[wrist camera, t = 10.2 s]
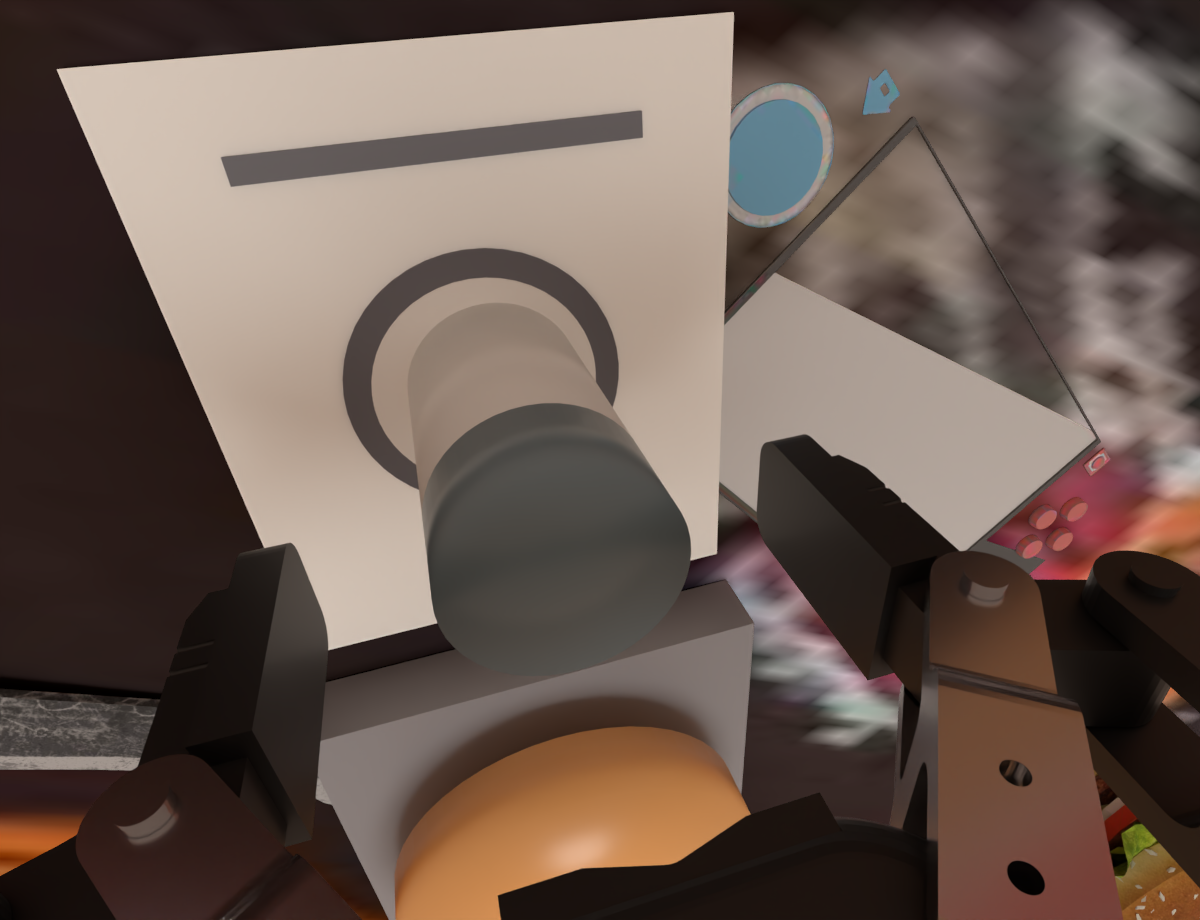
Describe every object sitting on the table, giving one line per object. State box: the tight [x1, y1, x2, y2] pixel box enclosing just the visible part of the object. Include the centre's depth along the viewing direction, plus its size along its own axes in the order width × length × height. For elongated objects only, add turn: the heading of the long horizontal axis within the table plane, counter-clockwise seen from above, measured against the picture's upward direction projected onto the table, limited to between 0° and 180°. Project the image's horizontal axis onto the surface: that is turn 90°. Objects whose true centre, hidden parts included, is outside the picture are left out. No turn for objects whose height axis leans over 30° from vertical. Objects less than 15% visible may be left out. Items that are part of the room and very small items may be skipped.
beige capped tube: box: [408, 303, 691, 676], centre depth 13 cm, size 4×4×7 cm
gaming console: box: [719, 69, 1111, 574], centre depth 21 cm, size 22×1×10 cm
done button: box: [394, 726, 751, 920], centre depth 21 cm, size 11×11×2 cm
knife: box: [0, 689, 332, 804], centre depth 19 cm, size 26×2×5 cm
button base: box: [318, 580, 754, 920], centre depth 24 cm, size 13×13×2 cm
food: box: [1094, 771, 1200, 920], centre depth 37 cm, size 14×14×8 cm
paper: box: [57, 12, 734, 650], centre depth 16 cm, size 12×14×1 cm
